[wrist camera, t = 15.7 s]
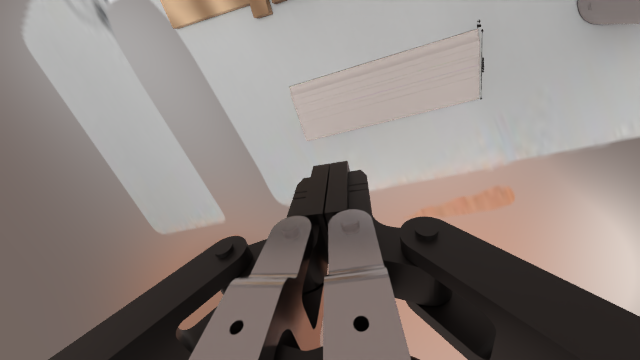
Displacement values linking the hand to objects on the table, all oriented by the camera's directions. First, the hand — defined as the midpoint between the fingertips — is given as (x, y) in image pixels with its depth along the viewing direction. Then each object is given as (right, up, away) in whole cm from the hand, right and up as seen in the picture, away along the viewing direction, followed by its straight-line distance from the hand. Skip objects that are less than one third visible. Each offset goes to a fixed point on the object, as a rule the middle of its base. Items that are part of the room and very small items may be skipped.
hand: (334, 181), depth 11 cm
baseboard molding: (+10, +17, +33) cm, 38 cm away
